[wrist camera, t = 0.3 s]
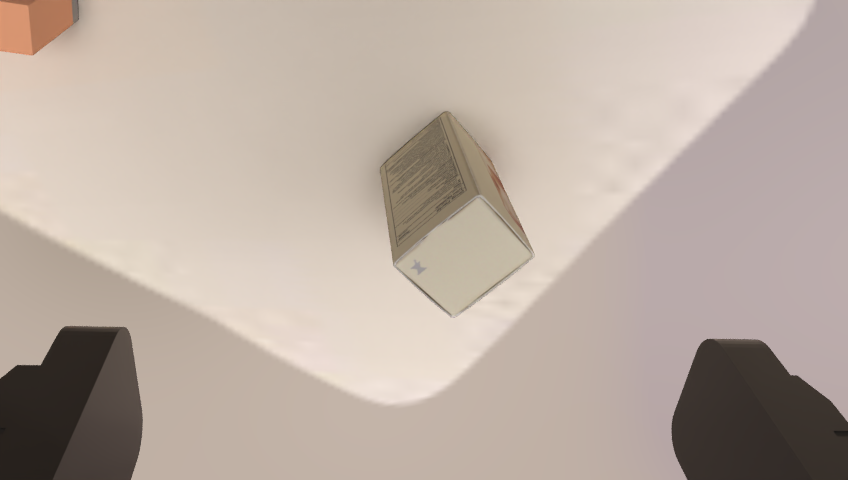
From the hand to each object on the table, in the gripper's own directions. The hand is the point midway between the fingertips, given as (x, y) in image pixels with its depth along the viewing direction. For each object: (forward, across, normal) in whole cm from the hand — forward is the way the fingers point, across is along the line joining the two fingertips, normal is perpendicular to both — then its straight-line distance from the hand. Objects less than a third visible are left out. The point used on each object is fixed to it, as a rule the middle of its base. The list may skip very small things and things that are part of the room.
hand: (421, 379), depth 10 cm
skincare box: (+28, -4, +10) cm, 30 cm away
